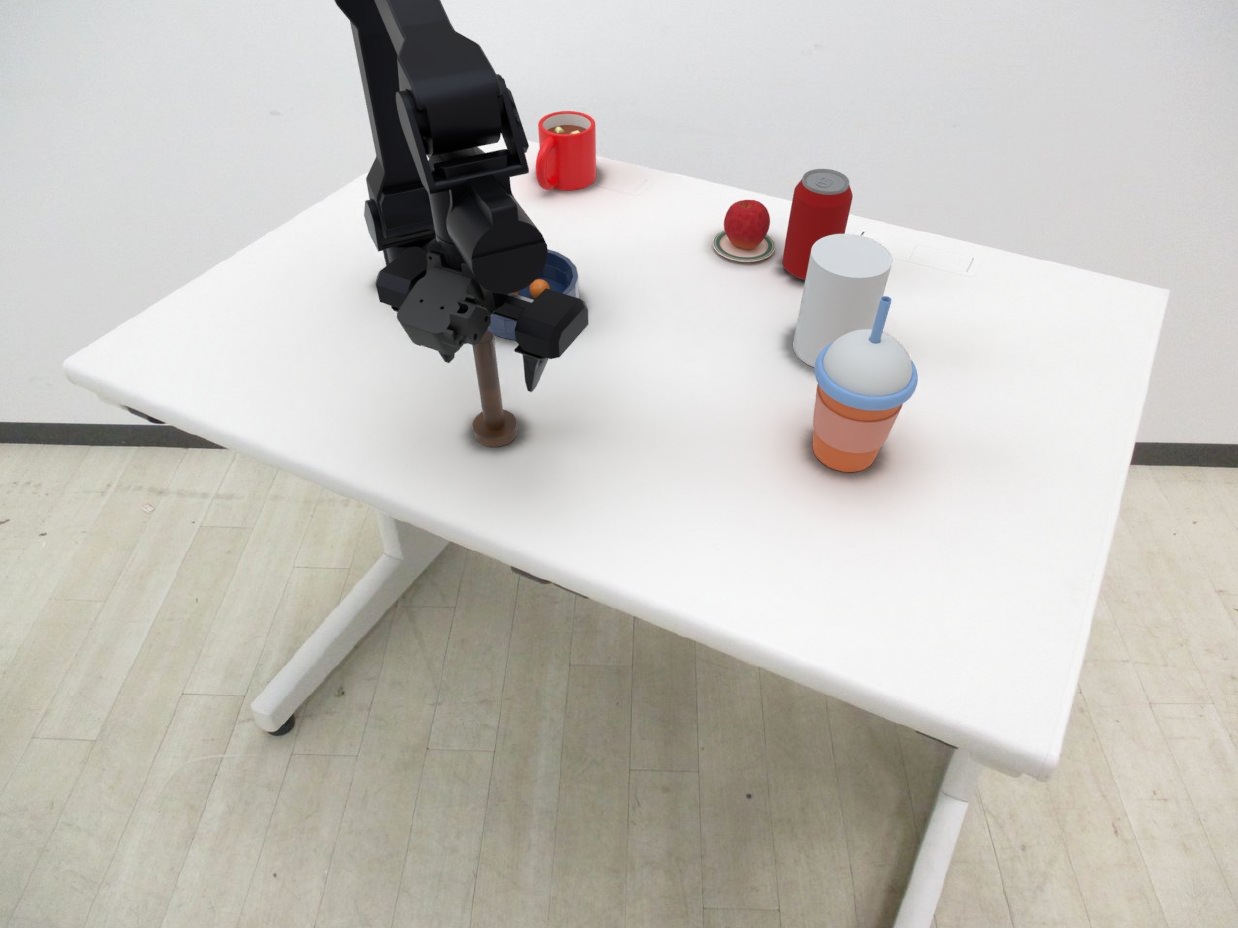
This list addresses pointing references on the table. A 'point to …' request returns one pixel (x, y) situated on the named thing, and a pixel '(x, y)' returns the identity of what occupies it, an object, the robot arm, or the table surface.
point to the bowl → (559, 278)
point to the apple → (745, 233)
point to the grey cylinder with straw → (860, 394)
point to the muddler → (491, 398)
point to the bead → (538, 287)
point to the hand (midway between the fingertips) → (490, 374)
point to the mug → (566, 151)
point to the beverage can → (815, 216)
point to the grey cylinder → (840, 291)
